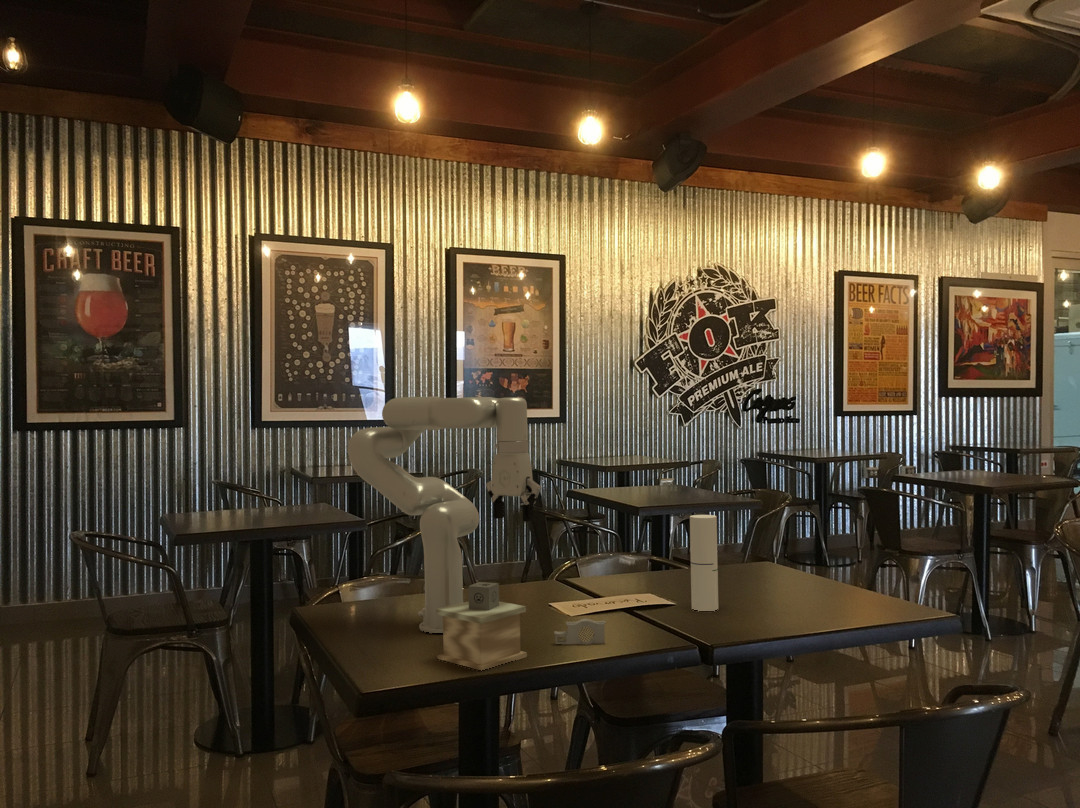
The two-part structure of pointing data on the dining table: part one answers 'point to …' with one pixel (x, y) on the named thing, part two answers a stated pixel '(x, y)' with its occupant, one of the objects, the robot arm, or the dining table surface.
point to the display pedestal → (481, 635)
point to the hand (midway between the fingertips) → (513, 519)
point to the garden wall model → (574, 629)
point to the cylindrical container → (704, 562)
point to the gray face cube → (483, 596)
